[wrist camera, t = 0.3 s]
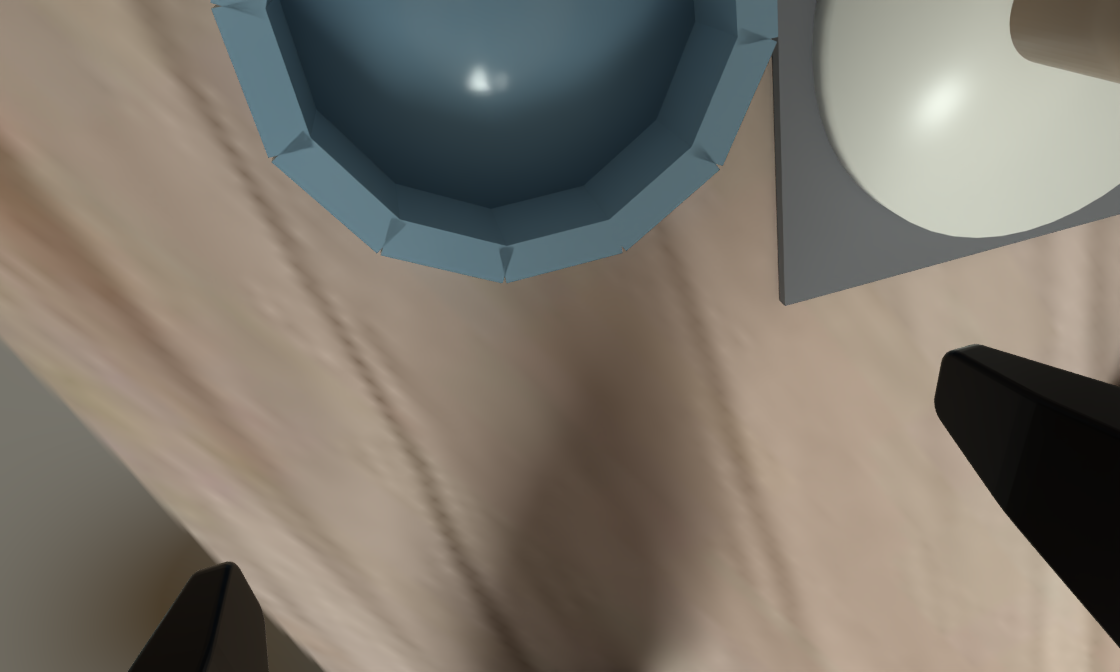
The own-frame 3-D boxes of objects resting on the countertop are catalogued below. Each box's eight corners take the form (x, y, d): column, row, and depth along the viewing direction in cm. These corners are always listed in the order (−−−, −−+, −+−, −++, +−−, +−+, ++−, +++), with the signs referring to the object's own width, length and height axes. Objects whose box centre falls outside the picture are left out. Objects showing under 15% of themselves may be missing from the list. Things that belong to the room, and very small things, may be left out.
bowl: (729, 171, 24) (782, 211, 21) (337, 270, 22) (333, 328, 19) (697, -340, 17) (767, -389, 14) (151, -240, 16) (104, -270, 13)
